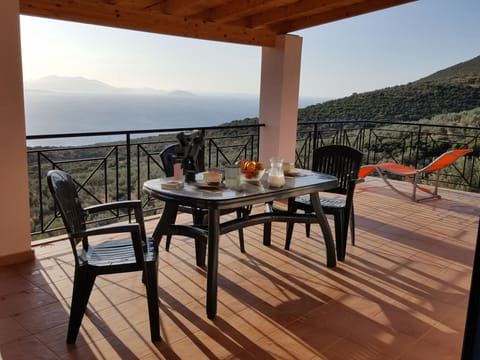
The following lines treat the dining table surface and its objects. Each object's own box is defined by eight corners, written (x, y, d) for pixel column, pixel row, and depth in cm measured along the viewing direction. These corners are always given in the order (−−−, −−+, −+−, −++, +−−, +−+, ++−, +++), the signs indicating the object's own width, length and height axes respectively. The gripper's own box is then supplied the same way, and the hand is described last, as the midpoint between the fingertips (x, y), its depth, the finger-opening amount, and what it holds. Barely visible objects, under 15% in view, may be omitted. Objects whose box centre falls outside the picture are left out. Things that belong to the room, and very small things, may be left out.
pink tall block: (177, 178, 284) (176, 163, 282) (182, 179, 283) (182, 163, 281) (174, 180, 279) (173, 164, 277) (180, 180, 279) (179, 164, 277)
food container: (228, 182, 303) (228, 167, 301) (224, 183, 297) (224, 169, 295) (211, 180, 307) (211, 166, 305) (207, 182, 301) (208, 168, 299)
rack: (170, 184, 291) (170, 180, 290) (184, 186, 287) (184, 181, 286) (161, 188, 280) (161, 183, 279) (174, 189, 276) (174, 185, 275)
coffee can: (223, 184, 294) (224, 164, 291) (239, 184, 296) (239, 164, 293) (226, 188, 284) (226, 166, 281) (241, 187, 286) (242, 166, 283)
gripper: (166, 141, 283) (160, 160, 274) (194, 142, 278) (188, 162, 270) (171, 151, 292) (165, 170, 283) (198, 153, 288) (192, 172, 279)
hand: (177, 168), depth 279 cm, fingers closed on pink tall block, 4 cm apart
